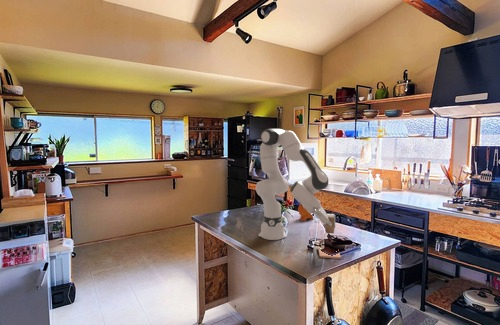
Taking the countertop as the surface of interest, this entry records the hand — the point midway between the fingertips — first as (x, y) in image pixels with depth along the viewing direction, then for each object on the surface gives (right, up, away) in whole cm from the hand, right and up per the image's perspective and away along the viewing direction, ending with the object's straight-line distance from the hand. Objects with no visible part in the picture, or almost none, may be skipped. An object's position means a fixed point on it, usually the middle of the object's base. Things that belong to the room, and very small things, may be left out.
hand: (330, 223), depth 156 cm
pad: (-1, -17, +2) cm, 17 cm away
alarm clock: (+1, -12, +71) cm, 72 cm away
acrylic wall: (-10, -18, -6) cm, 21 cm away
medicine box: (+14, -14, +53) cm, 56 cm away
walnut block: (-1, -5, 0) cm, 5 cm away
